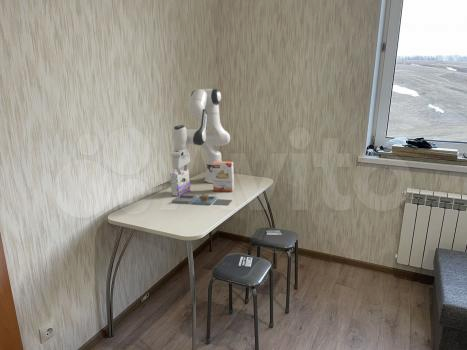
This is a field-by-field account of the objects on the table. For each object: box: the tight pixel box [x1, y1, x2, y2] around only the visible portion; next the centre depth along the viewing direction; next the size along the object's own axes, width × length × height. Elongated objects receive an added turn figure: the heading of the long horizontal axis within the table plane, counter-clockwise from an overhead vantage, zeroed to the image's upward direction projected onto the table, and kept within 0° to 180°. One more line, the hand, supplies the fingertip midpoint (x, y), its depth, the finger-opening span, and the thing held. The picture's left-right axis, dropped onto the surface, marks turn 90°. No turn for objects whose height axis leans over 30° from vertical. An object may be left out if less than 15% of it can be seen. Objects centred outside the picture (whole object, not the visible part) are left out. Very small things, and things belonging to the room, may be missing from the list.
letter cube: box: [200, 193, 210, 202], centre depth 224 cm, size 4×4×4 cm
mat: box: [212, 198, 233, 206], centre depth 221 cm, size 10×10×1 cm
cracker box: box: [212, 160, 235, 193], centre depth 245 cm, size 14×6×21 cm, turn 76°
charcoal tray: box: [172, 194, 198, 205], centre depth 228 cm, size 12×12×2 cm
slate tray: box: [192, 195, 217, 206], centre depth 224 cm, size 12×12×2 cm
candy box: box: [169, 168, 191, 197], centre depth 243 cm, size 14×6×16 cm, turn 149°
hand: (182, 172), depth 224 cm, fingers open, 8 cm apart
